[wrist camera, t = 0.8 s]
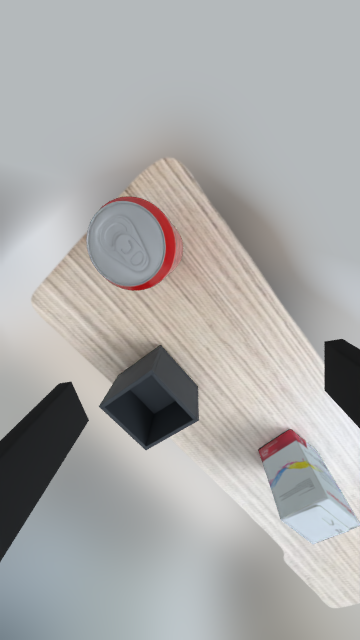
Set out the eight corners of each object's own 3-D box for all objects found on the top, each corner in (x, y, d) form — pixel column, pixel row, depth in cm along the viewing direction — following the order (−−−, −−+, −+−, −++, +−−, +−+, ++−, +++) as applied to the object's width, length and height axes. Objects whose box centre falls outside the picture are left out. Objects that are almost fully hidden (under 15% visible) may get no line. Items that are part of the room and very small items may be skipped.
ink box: (256, 449, 42) (279, 522, 31) (291, 427, 39) (329, 497, 28) (283, 471, 43) (314, 549, 32) (318, 451, 41) (365, 527, 30)
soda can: (156, 285, 32) (126, 312, 18) (121, 246, 31) (58, 241, 16) (194, 251, 30) (194, 250, 16) (158, 206, 29) (123, 163, 14)
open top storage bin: (117, 375, 38) (98, 406, 31) (160, 344, 36) (151, 370, 28) (155, 413, 41) (145, 450, 33) (198, 386, 38) (198, 420, 30)
